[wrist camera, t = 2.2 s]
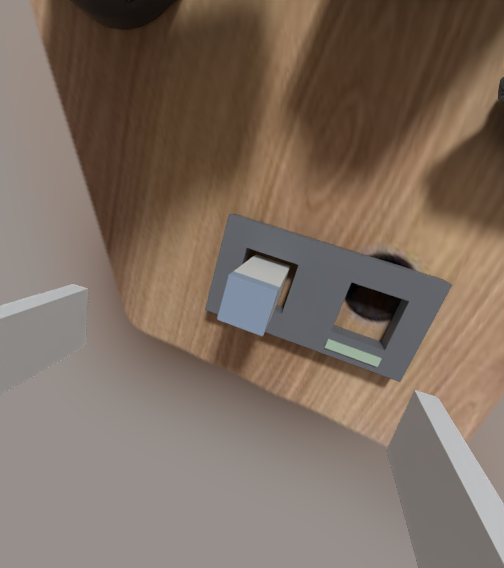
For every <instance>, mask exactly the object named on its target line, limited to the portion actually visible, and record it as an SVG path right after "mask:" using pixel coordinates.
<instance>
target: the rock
mask: <svg viewBox="0 0 504 568" xmlns="http://www.w3.org/2000/svg"><path fill="white" fill-rule="evenodd" d="M498 99H499V100H500V101H502V102H503V103H504V77H503V78H502V79H501V80H500V84H499V90H498Z"/></svg>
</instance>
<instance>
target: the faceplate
mask: <svg viewBox="0 0 504 568" xmlns="http://www.w3.org/2000/svg"><path fill="white" fill-rule="evenodd" d="M250 249H252V250H255V251H258V252H261V253H264V254H267V255H270V256H273V257H276V258H279V259H283V260H286V261H289V262H292V263H295V264H298V268H297V271H296V274H295V277H294V280H293V283H292V286H291V289H290V291H289V294H288V297H287V300H286V303H285V306H284V307H281V306H278V305H277V306H276V308H275V310H274V312H273V315H272V317H271V319H270V322H269V324H268V326H267V328H266V331H265V332H266V333H269V334H272V335H274V336H277V337H280V338H283V339H285V340H288V341H291V342H293V343H296V344H299V345H302V346H304V347H307V348H310V349H312V350H315V351H318V352H320V353H323V354H326V355H329V356H331V357H334V358H337V359H339V360H342V361H345V362H347V363H350V364H353V365H356V366H358V367H361V368H364V369H366V370H369V371H372V372H374V373H377V374H380V375H383V376H385V377H388V378H391V379H393V380H396V381H399V382H400V381H401V380H402V378H403V376H404V374H405V372H406V370H407V368H408V366H409V365H410V363H411V361H412V359H413V357H414V355H415V353H416V352H417V350H418V348H419V346H420V344H421V342H422V340H423V339H424V337H425V335H426V333H427V331H428V329H429V327H430V325H431V324H432V322H433V320H434V318H435V316H436V314H437V312H438V311H439V309H440V307H441V305H442V303H443V301H444V299H445V297H446V296H447V294H448V292H449V290H450V288H451V286H452V284H450V283H448V282H447V281H445V280H443V279H440V278H437V277H434V276H431V275H427V274H424V273H421V272H418V271H415V270H411V269H408V268H405V267H402V266H399V265H396V264H392V263H389V262H386V261H383V260H380V259H377V258H373V257H370V256H367V255H364V254H361V253H357V252H354V251H351V250H348V249H345V248H342V247H338V246H335V245H332V244H329V243H326V242H323V241H319V240H316V239H313V238H310V237H307V236H304V235H300V234H297V233H294V232H291V231H288V230H284V229H281V228H278V227H275V226H272V225H269V224H265V223H262V222H259V221H256V220H253V219H250V218H246V217H243V216H240V215H237V214H229V216H228V220H227V224H226V228H225V232H224V236H223V240H222V244H221V248H220V252H219V256H218V260H217V264H216V268H215V272H214V276H213V280H212V284H211V288H210V292H209V296H208V300H207V304H206V308H205V310H207V311H210V312H212V313H215V314H219V310H220V306H221V302H222V299H223V295H224V291H225V287H226V284H227V280H228V276H229V274H230V273H232V272H233V271H234V270H236V269H237V268H238V267H240V266H241V265H242V264H244V263H245V262H246V261H247V258H248V255H249V251H250ZM351 282H352V283H355V284H358V285H361V286H364V287H367V288H370V289H373V290H376V291H379V292H382V293H385V294H388V295H391V296H395V297H398V298H401V299H402V300H401V302H400V304H399V306H398V308H397V310H396V312H395V314H394V316H393V318H392V320H391V322H390V324H389V326H388V328H387V331H386V333H385V335H384V337H383V339H382V341H381V342H380V341H377V340H374V339H371V338H369V337H366V336H363V335H360V334H357V333H354V332H352V331H349V330H346V329H343V328H340V327H337V326H335V325H334V323H335V321H336V318H337V316H338V314H339V311H340V309H341V306H342V304H343V302H344V299H345V297H346V294H347V292H348V289H349V287H350V285H351Z"/></svg>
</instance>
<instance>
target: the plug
mask: <svg viewBox="0 0 504 568" xmlns="http://www.w3.org/2000/svg"><path fill="white" fill-rule="evenodd" d="M289 269H290V265H287V264H284V263H281V262H278V261H275V260H272V259H269V258H266V257H263V256H260V255H257V254H256V255H255V256H253V257H252V258H250V259H249V260H248V261H246V262H245V263H244V264H242V265H241V266H240V267H238V268H237V269H236V270H234V271H233V272H232V273H230V274H229V276H228V280H227V284H226V287H225V291H224V295H223V299H222V302H221V306H220V310H219V314H218V317H217V320H220V321H222V322H225V323H228V324H230V325H233V326H236V327H238V328H241V329H244V330H247V331H249V332H252V333H255V334H257V335H260V336H263V335H264V333H265V331H266V328H267V326H268V324H269V322H270V319H271V317H272V315H273V312H274V310H275V308H276V306H277V303H278V301H279V299H280V296H281V293H282V290H283V287H284V284H285V281H286V278H287V275H288V272H289Z"/></svg>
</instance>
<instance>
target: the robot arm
mask: <svg viewBox="0 0 504 568" xmlns="http://www.w3.org/2000/svg"><path fill="white" fill-rule="evenodd" d="M71 1H72V2H73V3H74V4H75V5H77V6H78V7H79V8H80V9H82V10H83V11H84V12H85V13H86V14H88V15H89V16H90V17H91V18H93V19H94V20H96V21H97V22H99V23H101V24H103V25H106V26H108V27H112V28H117V29H130V28H135V27H139V26H142V25H144V24H146V23H148V22H150V21H152V20H153V19H155V18H156V17H158V16H159V15H160V14H161V13H162V12H164V11H165V10H166V9H167V7H168V6H169V5H170V4H171V3H172V2H173V0H71ZM87 309H88V288H85V287H82V286H78V285H76V284H70V285H67V286H64V287H61V288H57V289H54V290H50V291H47V292H44V293H41V294H37V295H34V296H31V297H28V298H24V299H21V300H17V301H14V302H11V303H7V304H4V305H1V306H0V395H2V394H4V393H5V392H7V391H8V390H11V389H12V388H14V387H16V386H17V385H19V384H21V383H22V382H24V381H26V380H28V379H29V378H31V377H33V376H35V375H36V374H38V373H40V372H41V371H43V370H45V369H47V368H48V367H50V366H52V365H53V364H55V363H57V362H59V361H60V360H62V359H64V358H65V357H67V356H69V355H70V354H72V353H74V352H76V351H77V350H79V349H81V348H82V347H84V346H86V330H87ZM387 454H388V457H389V461H390V465H391V469H392V472H393V476H394V480H395V483H396V486H397V491H398V494H399V498H400V502H401V505H402V509H403V513H404V516H405V520H406V524H407V528H408V531H409V535H410V538H411V542H412V546H413V550H414V553H415V557H416V561H417V565H418V568H504V504H503V502H502V500H501V499H500V497H499V496H498V494H497V492H496V491H495V489H494V488H493V486H492V485H491V483H490V481H489V479H488V478H487V476H486V475H485V473H484V471H483V470H482V468H481V466H480V465H479V463H478V462H477V460H476V458H475V457H474V456H473V454H472V452H471V450H470V449H469V447H468V445H467V444H466V442H465V441H464V439H463V437H462V436H461V434H460V433H459V431H458V429H457V428H456V426H455V424H454V423H453V421H452V420H451V418H450V416H449V415H448V413H447V411H446V410H445V408H444V407H443V405H442V403H441V402H440V400H439V399H438V397H435V396H432V395H429V394H426V393H422V392H419V391H416V390H414V392H413V394H412V396H411V399H410V401H409V403H408V405H407V407H406V409H405V412H404V414H403V416H402V418H401V420H400V422H399V425H398V427H397V429H396V431H395V433H394V436H393V438H392V440H391V442H390V444H389V446H388V449H387Z"/></svg>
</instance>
